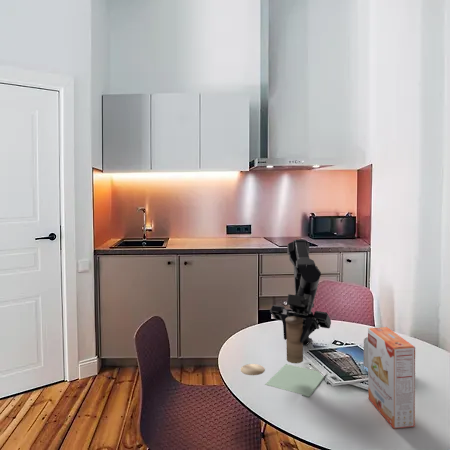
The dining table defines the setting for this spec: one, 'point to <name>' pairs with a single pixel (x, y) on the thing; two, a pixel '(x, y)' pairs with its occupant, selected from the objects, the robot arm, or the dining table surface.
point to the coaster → (252, 369)
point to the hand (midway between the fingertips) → (292, 340)
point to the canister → (294, 339)
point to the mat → (296, 380)
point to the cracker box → (391, 376)
